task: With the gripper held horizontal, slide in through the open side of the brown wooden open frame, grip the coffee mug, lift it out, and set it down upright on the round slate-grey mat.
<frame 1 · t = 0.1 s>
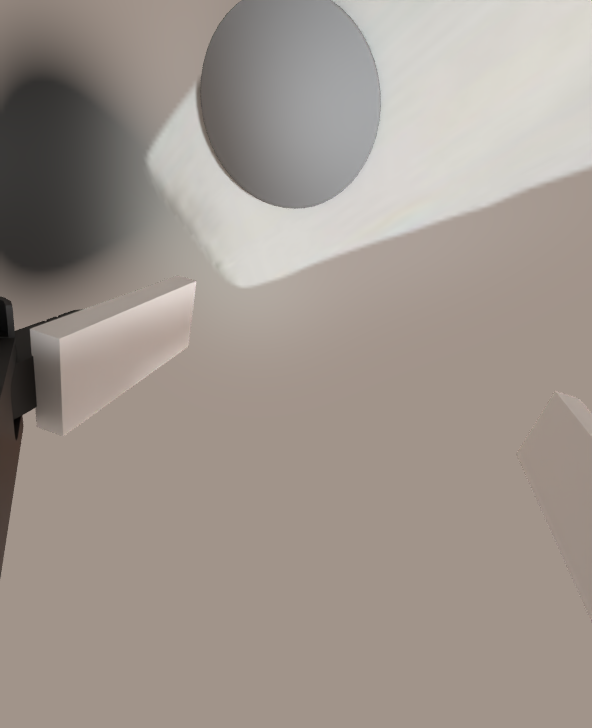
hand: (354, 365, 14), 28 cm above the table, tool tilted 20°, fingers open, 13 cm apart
mat: (288, 112, 34), on the table
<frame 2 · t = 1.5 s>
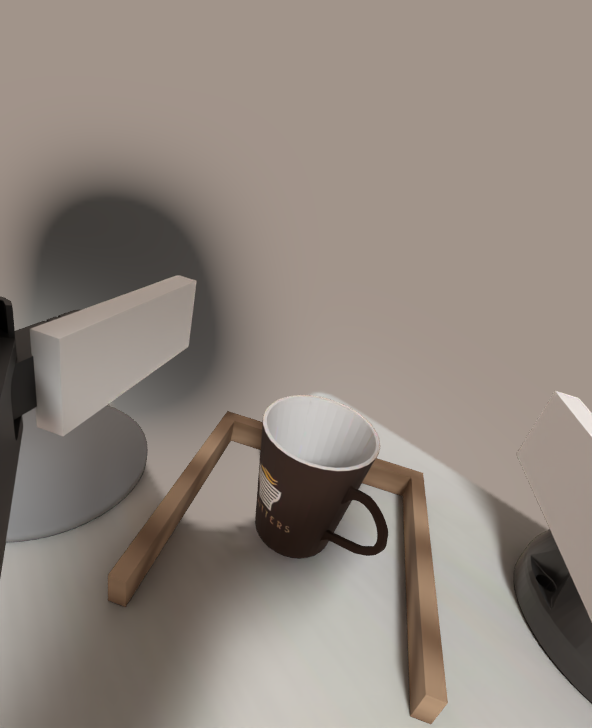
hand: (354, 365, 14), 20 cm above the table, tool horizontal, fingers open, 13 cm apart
coffee mug: (294, 541, 32), on the table
mat: (45, 460, 33), on the table
brown wooden open frame: (295, 539, 32), on the table
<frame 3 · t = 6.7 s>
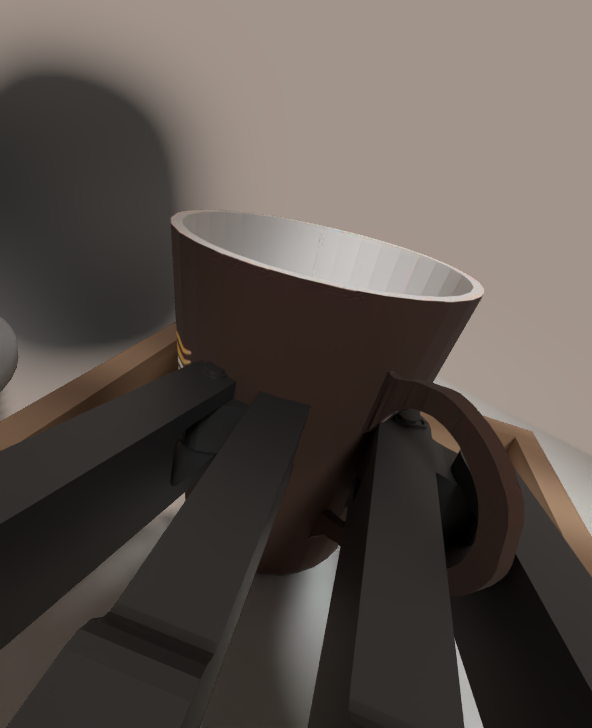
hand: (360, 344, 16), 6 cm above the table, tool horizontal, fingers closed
coffee mug: (262, 534, 14), on the table, touching gripper
brown wooden open frame: (293, 548, 14), on the table
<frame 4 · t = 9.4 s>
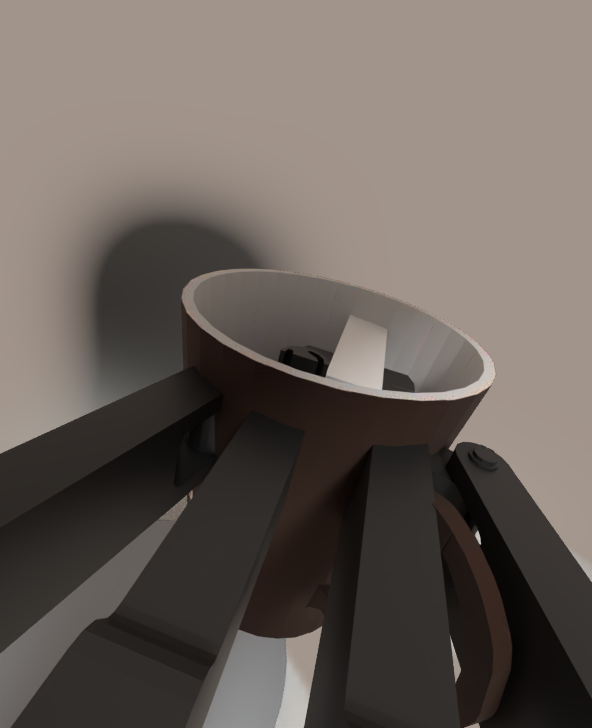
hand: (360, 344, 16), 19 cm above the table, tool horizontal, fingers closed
coffee mug: (263, 590, 14), point 11 cm above the table, touching gripper
mat: (138, 651, 21), on the table
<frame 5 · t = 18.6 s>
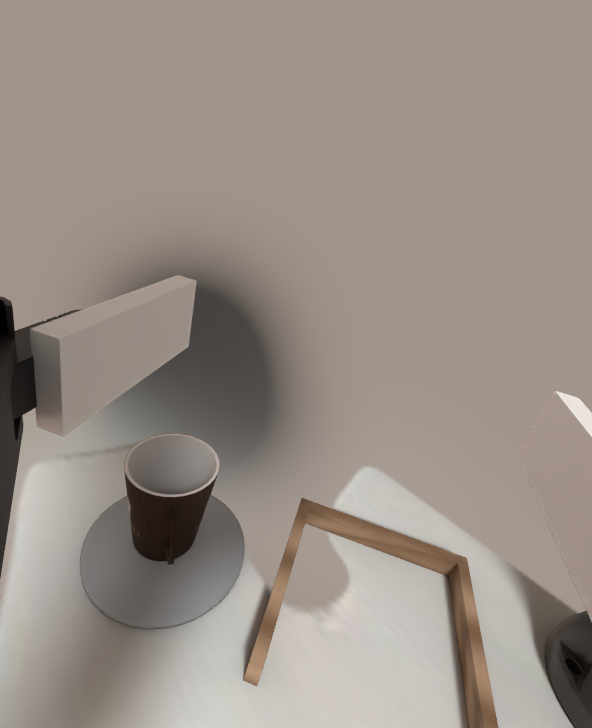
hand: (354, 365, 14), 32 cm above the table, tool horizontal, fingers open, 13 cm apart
coffee mug: (158, 547, 40), point 1 cm above the table, touching mat
mat: (167, 548, 41), on the table
brown wooden open frame: (370, 621, 39), on the table
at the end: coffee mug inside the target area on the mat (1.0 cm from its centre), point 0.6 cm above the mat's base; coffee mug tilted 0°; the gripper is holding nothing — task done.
